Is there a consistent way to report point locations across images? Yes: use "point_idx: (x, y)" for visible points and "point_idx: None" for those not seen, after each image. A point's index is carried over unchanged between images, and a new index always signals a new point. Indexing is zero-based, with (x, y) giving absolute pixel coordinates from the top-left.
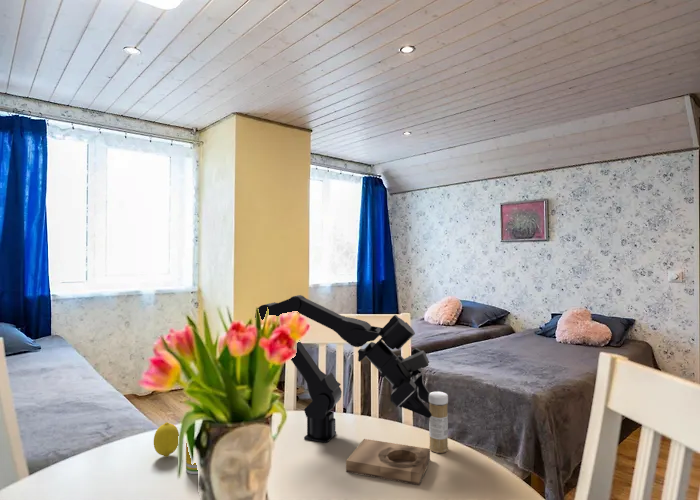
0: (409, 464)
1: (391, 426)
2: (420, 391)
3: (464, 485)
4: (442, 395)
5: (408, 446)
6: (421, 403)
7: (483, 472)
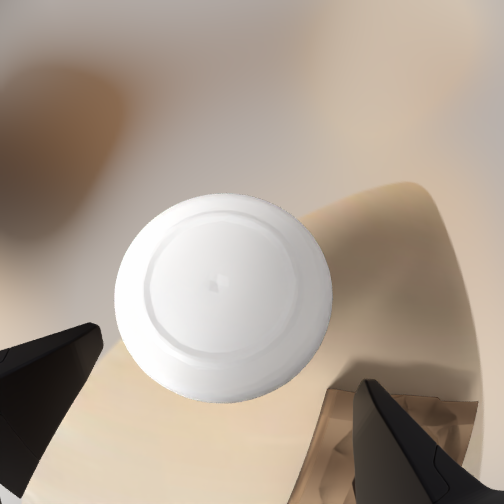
0: (445, 438)
1: (66, 463)
2: (27, 414)
3: (442, 296)
4: (281, 240)
5: (322, 466)
6: (443, 458)
7: (375, 241)
